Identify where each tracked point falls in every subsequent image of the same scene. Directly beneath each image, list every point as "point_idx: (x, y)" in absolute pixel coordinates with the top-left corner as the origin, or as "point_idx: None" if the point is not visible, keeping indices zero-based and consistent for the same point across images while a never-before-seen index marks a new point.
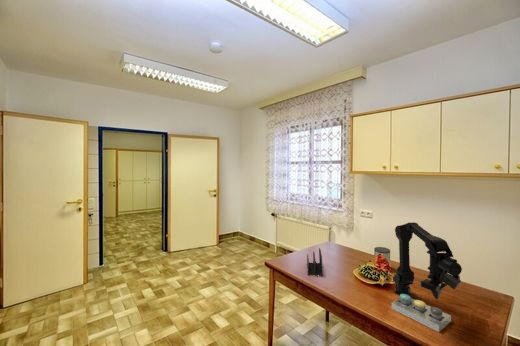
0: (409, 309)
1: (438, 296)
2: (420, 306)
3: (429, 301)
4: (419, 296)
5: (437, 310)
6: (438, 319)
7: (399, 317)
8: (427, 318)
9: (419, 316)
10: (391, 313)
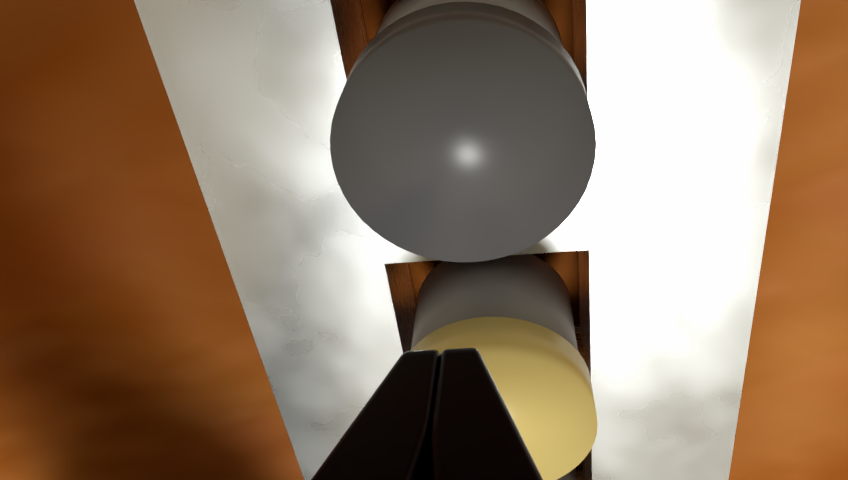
0: (673, 395)
1: (429, 426)
2: (577, 366)
3: (8, 359)
4: (48, 459)
5: (469, 126)
6: (535, 2)
7: (837, 358)
8: (714, 128)
9: (765, 230)
10: (820, 440)
